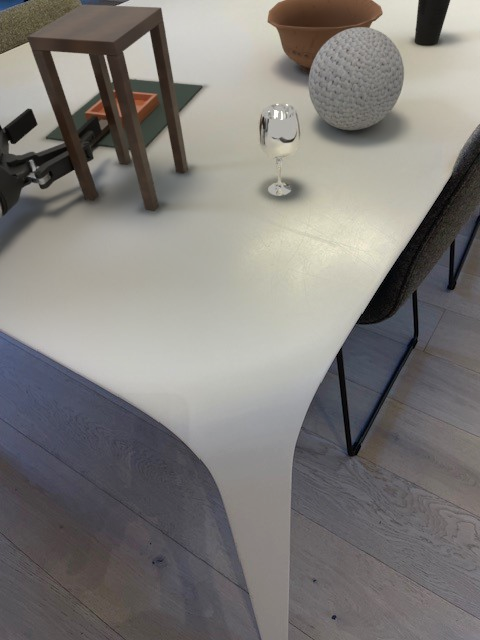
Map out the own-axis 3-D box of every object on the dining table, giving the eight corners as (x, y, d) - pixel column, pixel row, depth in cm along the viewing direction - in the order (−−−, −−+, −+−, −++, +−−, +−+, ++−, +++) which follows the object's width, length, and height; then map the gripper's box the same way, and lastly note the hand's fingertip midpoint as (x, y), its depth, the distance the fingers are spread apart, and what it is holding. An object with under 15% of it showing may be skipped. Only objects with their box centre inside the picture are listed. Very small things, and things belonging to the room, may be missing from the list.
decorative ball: (410, 138, 81) (430, 39, 70) (322, 153, 80) (328, 54, 69) (375, 100, 91) (387, 8, 80) (297, 113, 90) (298, 21, 79)
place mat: (46, 140, 90) (45, 136, 89) (117, 80, 106) (117, 77, 105) (142, 153, 84) (142, 149, 84) (202, 88, 100) (202, 85, 99)
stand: (85, 200, 75) (26, 36, 58) (123, 160, 83) (81, 4, 66) (154, 212, 72) (113, 42, 55) (188, 169, 79) (161, 7, 62)
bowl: (256, 87, 98) (253, 26, 90) (282, 46, 112) (282, -10, 104) (368, 94, 93) (375, 29, 85) (381, 49, 107) (389, -9, 98)
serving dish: (50, 155, 84) (45, 145, 83) (115, 99, 98) (112, 89, 96) (99, 163, 82) (96, 152, 80) (159, 104, 95) (157, 93, 94)
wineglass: (289, 176, 76) (289, 98, 67) (305, 195, 72) (308, 115, 63) (254, 185, 75) (250, 107, 66) (269, 205, 71) (267, 126, 62)
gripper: (43, 184, 61) (124, 104, 74) (-105, 161, 67) (-6, 91, 81) (63, 232, 67) (135, 149, 80) (-75, 206, 73) (13, 134, 86)
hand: (64, 120), depth 80 cm, fingers open, 12 cm apart
